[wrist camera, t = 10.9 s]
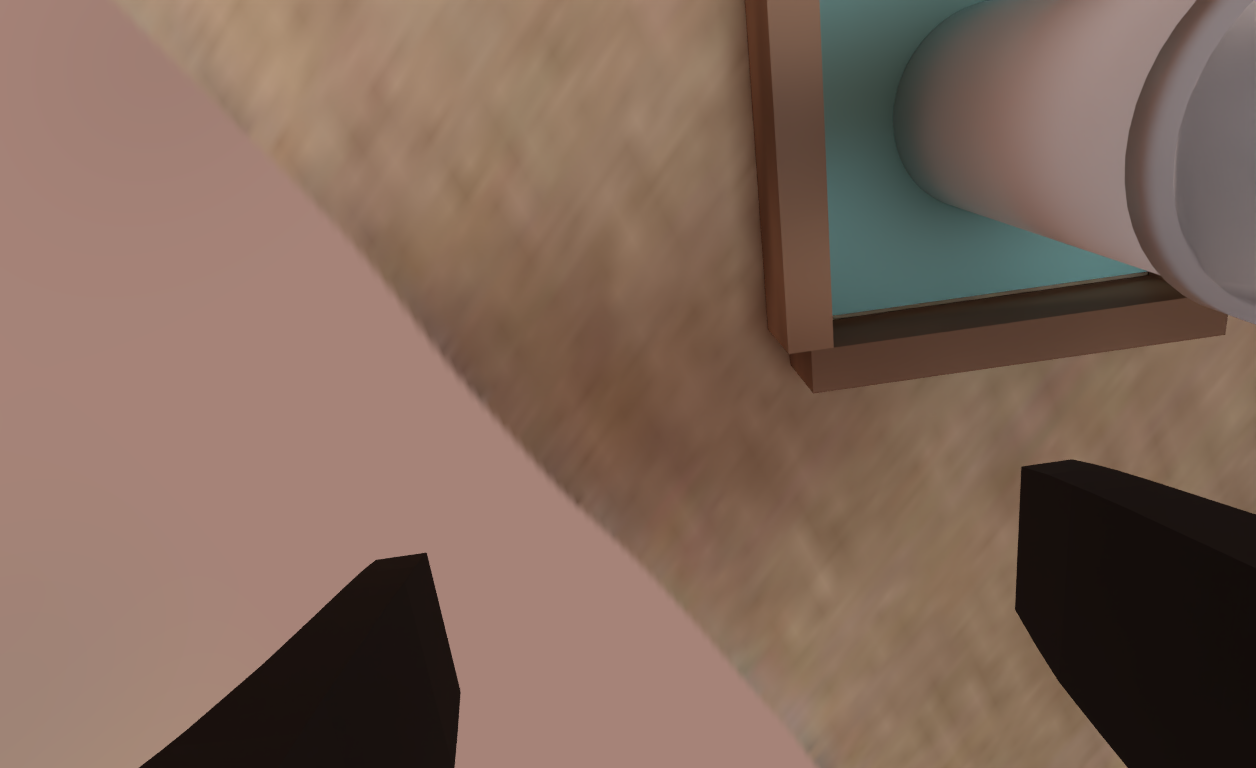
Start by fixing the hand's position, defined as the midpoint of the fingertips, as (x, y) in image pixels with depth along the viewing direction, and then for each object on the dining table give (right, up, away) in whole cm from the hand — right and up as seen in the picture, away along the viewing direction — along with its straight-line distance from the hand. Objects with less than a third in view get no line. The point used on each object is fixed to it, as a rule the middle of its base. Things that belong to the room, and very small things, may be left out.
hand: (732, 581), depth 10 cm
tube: (+7, +8, +8) cm, 14 cm away
